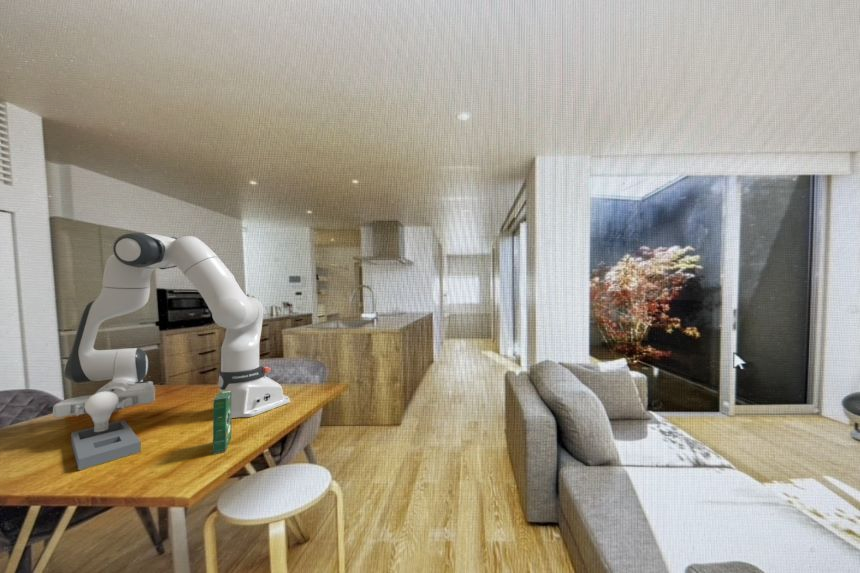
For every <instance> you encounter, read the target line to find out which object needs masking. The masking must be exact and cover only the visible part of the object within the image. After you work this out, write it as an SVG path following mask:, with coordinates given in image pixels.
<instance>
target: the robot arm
mask: <svg viewBox="0 0 860 573" xmlns="http://www.w3.org/2000/svg"><path fill="white" fill-rule="evenodd" d="M112 250H113V251H112V252H113V254H112V255H110V256H109V257H108V258H107V260H106V263H105V267H104V271H103V276H102V284H101V285H102V288H101V291H100V294H99V295H98V297H97V298H96V299H94V300H92V301H90V302H88V303H87V305H86V306H85V308H84V310H83V311H82V315H81V318H80V319H79V320H80V321H79V323H78V327H77V330H76V334H75V337H74V341H73V344H72V347H71V351H70V353H69V355H68V358H67V360H66V362H65V366H64V368H63V369H64V370H63V373H64V377H65V379H67V380H69V381H70V382H73V383H75V384H76V385H77V384H78V385H79V384H86V383H92V382H96V381H105V380H106V381H107V380H110V381H109V382H107V383H105V385H103V386H102V387H101V388H99V389H98V390H96V392H95V393H94V394H96V393H99V392H103V391H110V392H113V393H115V394H116V395H117V396H118V398H119V402H118V403H117V404H116V406H117V407H116V408H115V409H114V410H113V412H112V413H114V412H119V411H121V410H124V409H127V408H130V407H133V406H140V405H148V404H152V403H154V402H155V400H156V399H155V398H156V387H155V385H154V382H153V381H150V380H148V381H144V379H145V378H146V377H147V375H148V373H149V370H150V369H149V368H150V358H149V355H148V354H147V352H146V351H144V350H143V349H141V348H139V347H135V348H134V347H132V348H131V347H130V348H127V347H126V348H118V349H114V348H113V349H101V350H99V349H95V347H94V346H95V342H96V339H97V336H98V331H99V328H100V326H101V325H102V323H103V322H105V321H107V320H109V319H113V318H116V317H120V316H124V315H128V314H131V313H134V312H135V311H138V310H140V309H142V308H143V307H144V306H145V305H146V304H147V303H148V302H149V299H150V294H151V276H152V274H153V272H154V271H155V270H157V269H158V270H166V269H173V268H178V269H179V270H180V272H181V273H182V274H183V275H184V276H185V277H186V278H187V280H188V281H189V282H190V284H192V286H194V288H195V289H196V290H197V292H198V293H199V294H200V295H201V298H202V299H203V300H204V302H205V304H206V305H207V307H208V309H209V311H210V312H211V316H212V319H213V321H214V323H215V324H216V325H218V326H219V327H221V328H224V329H226V331H225V336H224V339H223V343H222V345H221V349H220V355H221V357H220V371H219V373H218V374H219V375H218V376H219V377H218V387H219V393H220V392H223V391H231V419H235V418H250V417H251V418H252V417H255V416H257V415H260V414H263V413H266V412H269V411H270V410H273V409H276V408H279V407H281V406H284V405H287V404H289V403H291V398H290V397H289V396H288V395H285V394H284V391H283V387H282V385H281V384H280V383H278V382H276V381H275V380H274V379H272V378H270V377H268V376H266V375H265V374H270V372H271V369H272V368H270V367H269V366H264V367H263V366H261V365H260V342H261V337H262V336H261V334H262V329H263V322H264V321H263V320H264V314H265V308H264V305H263V304H262V303H261V301H260V300H259V299H257V298H256V297H253V296H247V295H246V294H245V293H244V291H243V290H242V288H241V287H240V285H239V283H238V282H237V280H236V277H235V276H234V274H233V273H232V272H231V271H230V269H229V268H228V267H227V266H226V264H225V263H224V262H223V261H222V260H221V259H220V257H219V256H218V255H217V254H216V253H215V252H214V251H213V250H212V249H211V248H210V247H209V245H207V244H206V243H204V242H203V241H202V239H199V237H196V236H193V235H192V236H191V235H185V236H181V237H178V238H177V237H173V236H168V235H161V234H158V233H156V234H155V233H141V232H131V233H125V234H123V235H120V236H119V237H118V238H116V240H115V241H114V242H113V246H112ZM92 395H93V394H89V395H83V396H76V397H70V398H66V399H64V400H61V401H59V402H57V403H55V404H54V405H53V406H52V407H53V408H52V417H53V418H56V419H57V418H58V419H59V418H64V417H71V416H76V417H78V416H83V415H85V414H88V413H87V412H86V411H85V409H84V405H85V402H86V401H87V399H88V398H89V397H91V396H92Z"/></svg>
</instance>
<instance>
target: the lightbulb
mask: <svg viewBox="0 0 860 573" xmlns="http://www.w3.org/2000/svg"><path fill="white" fill-rule="evenodd" d="M95 393H96V392H95ZM95 393H94V394H91V395H92V396H91V397H89V398H88V399H87V401H86V402H85V405H84V409H85V411H86V412H87V413H86V414H88V415H89V417H91V419H92V422H93V427H94V432H96V433H102V432H104V431H106V430H107V429H108V424H109V423H110V422H109V420H110V418H111V416H112V414H113V413H114V412H113V410H114V409H115V408H116V407H117V406H116V404H117V403H118V402H119V398H118V396H117V395H116V394H115V393H113V392H110V391H103V392H99V393H96V394H95Z"/></svg>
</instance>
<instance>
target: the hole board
mask: <svg viewBox="0 0 860 573" xmlns="http://www.w3.org/2000/svg"><path fill="white" fill-rule="evenodd" d="M70 435H71V438H70V439H71V446H72V451H73V454H74V459H75V462H76V466H77V470H80V471H83V470H86V469H85V468H87V469H90V468H92V467H91V466H93V467H96V466H99V465H98V464H100V465H103V464H105V462H106V463H109V462H108V461H110V462H113V461H115V459H116V460H119V459H123V458H125V457H128V456H129V457H130V456H133V455H135V453H136V454H138V453H141V452H142V441H141V440H140V438H139V437H138V436H137V435H136V433H135V432H134V431H133V430H132V428H131V427H130V425H129V424H128V423H127V422H126V420H124V419H122V420H119V421H114V422H113V421H112V422H108V429H107V430H106V431H104V432H102V433H96V432H94V426H92V427H90V428H85V429H80V430H76V431H72V432H71V434H70ZM112 460H113V461H112ZM102 463H103V464H102ZM95 465H96V466H95ZM89 467H90V468H89ZM82 469H83V470H82Z"/></svg>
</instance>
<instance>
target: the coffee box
mask: <svg viewBox="0 0 860 573" xmlns="http://www.w3.org/2000/svg"><path fill="white" fill-rule="evenodd" d="M212 401H213V404H212V406H213V407H212V409H213V411H212V412H213V414H212V416H213V417H212V418H213V419H212V455H216V454H221V453H224V452H226V451H227V449H228V446H229V445H230V442H231V439H232V418H231V391H223V392H220V391H219V393H218V394H217V395H216V396H215V397H214V398H213V400H212Z"/></svg>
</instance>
